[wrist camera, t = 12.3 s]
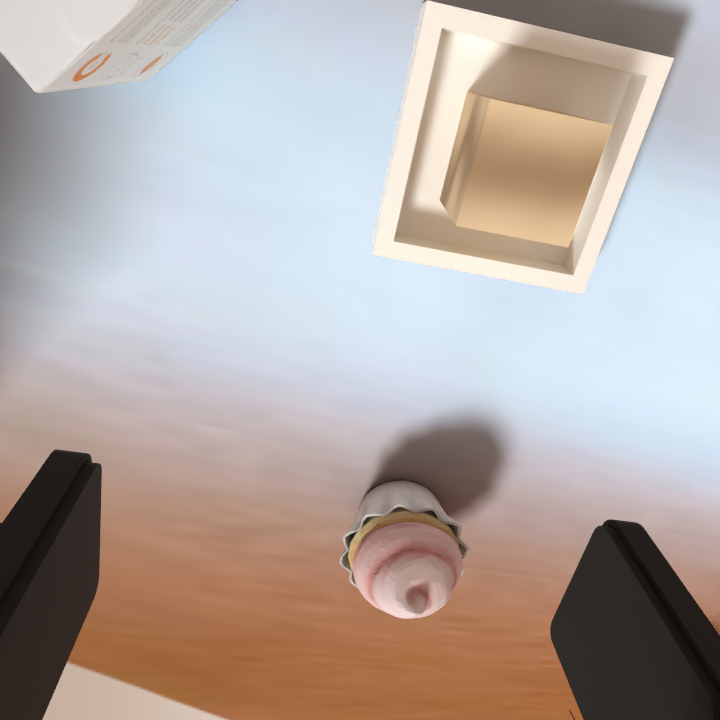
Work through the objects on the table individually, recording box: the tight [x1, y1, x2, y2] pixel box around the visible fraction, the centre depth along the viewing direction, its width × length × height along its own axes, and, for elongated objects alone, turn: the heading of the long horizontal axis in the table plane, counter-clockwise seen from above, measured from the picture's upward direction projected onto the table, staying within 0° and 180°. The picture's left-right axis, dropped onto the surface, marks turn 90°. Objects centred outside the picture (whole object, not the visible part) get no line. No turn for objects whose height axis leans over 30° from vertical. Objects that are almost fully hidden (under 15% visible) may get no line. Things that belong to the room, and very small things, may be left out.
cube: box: [440, 92, 612, 248], centre depth 32 cm, size 6×6×6 cm
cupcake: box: [339, 481, 471, 619], centre depth 43 cm, size 9×9×10 cm
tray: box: [371, 0, 674, 294], centre depth 34 cm, size 13×13×3 cm
